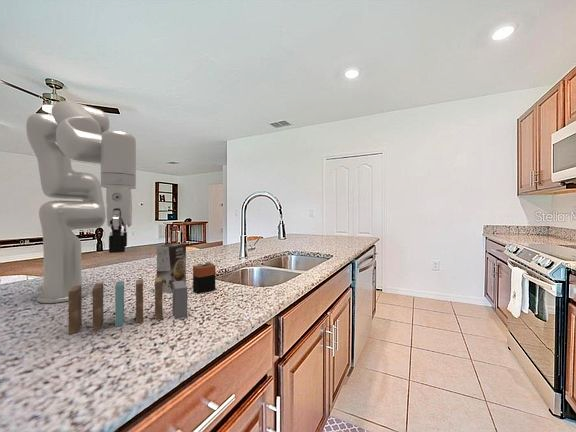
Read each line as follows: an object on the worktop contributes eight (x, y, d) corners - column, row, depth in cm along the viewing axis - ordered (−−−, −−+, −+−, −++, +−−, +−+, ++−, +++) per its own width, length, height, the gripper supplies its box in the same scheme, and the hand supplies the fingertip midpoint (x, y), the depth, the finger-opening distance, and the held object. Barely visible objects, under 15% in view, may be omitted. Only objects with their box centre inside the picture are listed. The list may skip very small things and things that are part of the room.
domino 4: (136, 323, 69) (135, 284, 69) (136, 316, 73) (136, 279, 73) (143, 322, 69) (143, 283, 69) (143, 315, 74) (142, 279, 74)
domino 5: (155, 320, 71) (155, 282, 71) (155, 313, 75) (154, 277, 75) (162, 319, 72) (162, 281, 71) (161, 312, 76) (161, 277, 76)
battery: (216, 290, 98) (216, 262, 98) (198, 294, 93) (198, 265, 93) (209, 287, 101) (209, 260, 101) (192, 291, 96) (192, 263, 96)
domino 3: (115, 326, 67) (115, 286, 66) (116, 319, 71) (116, 281, 71) (122, 325, 67) (122, 285, 67) (124, 318, 72) (123, 280, 72)
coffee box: (172, 292, 95) (172, 246, 94) (155, 291, 96) (155, 245, 96) (186, 285, 104) (186, 243, 103) (171, 284, 105) (171, 243, 105)
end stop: (175, 318, 72) (175, 288, 72) (172, 309, 79) (172, 281, 79) (187, 316, 73) (187, 287, 73) (183, 307, 80) (183, 280, 80)
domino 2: (92, 330, 64) (92, 288, 64) (95, 322, 69) (95, 283, 69) (100, 329, 65) (100, 287, 65) (103, 321, 70) (103, 283, 69)
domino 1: (68, 334, 62) (68, 291, 62) (73, 326, 67) (73, 286, 67) (77, 333, 63) (77, 290, 63) (81, 325, 67) (81, 285, 67)
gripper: (134, 180, 63) (134, 253, 63) (136, 185, 78) (136, 244, 78) (95, 178, 59) (95, 256, 60) (105, 183, 74) (105, 245, 75)
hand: (118, 249), depth 69 cm, fingers open, 9 cm apart
